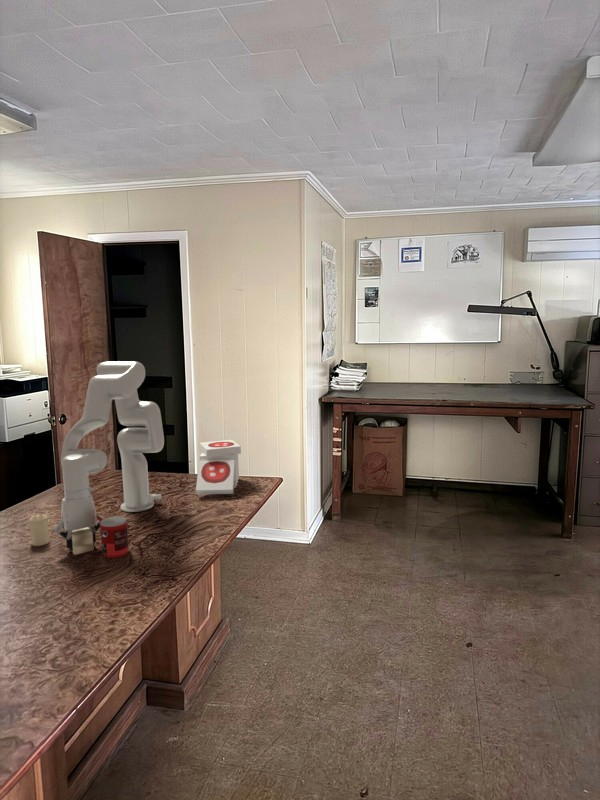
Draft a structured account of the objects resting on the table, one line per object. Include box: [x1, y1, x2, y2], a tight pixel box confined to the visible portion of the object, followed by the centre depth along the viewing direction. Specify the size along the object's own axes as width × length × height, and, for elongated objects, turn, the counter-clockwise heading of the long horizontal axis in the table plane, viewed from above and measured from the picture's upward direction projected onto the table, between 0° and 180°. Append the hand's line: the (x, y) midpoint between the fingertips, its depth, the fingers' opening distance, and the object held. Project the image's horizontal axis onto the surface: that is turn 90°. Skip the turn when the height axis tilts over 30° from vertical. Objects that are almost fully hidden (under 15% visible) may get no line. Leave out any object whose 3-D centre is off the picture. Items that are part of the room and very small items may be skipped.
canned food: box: [99, 515, 129, 559], centre depth 182 cm, size 8×8×11 cm
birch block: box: [71, 527, 95, 556], centre depth 186 cm, size 6×6×6 cm
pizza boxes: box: [195, 439, 242, 495], centre depth 248 cm, size 19×30×18 cm, turn 1°
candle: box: [28, 512, 50, 547], centre depth 192 cm, size 6×6×10 cm
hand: (81, 546), depth 186 cm, fingers closed on birch block, 6 cm apart
